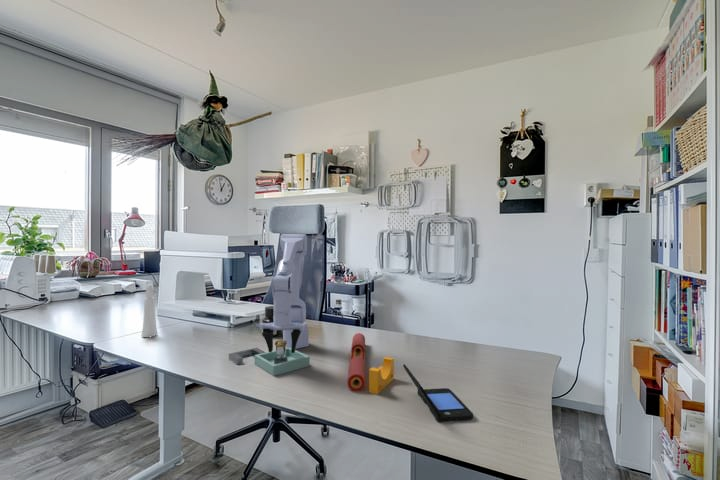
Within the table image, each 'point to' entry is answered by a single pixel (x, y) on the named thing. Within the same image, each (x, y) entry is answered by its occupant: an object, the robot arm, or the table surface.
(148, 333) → the cosmetic bottle
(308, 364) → the tray
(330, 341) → the table surface
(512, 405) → the table surface
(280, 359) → the glass jar
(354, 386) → the blood vessel
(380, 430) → the table surface
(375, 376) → the pipe clamp
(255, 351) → the bracket
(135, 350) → the table surface
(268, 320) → the ink bottle
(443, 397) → the black handheld device
